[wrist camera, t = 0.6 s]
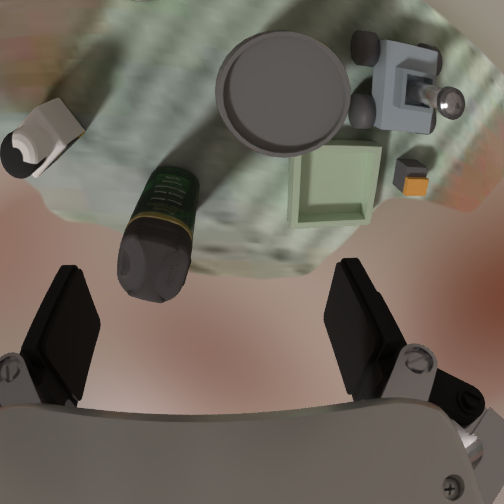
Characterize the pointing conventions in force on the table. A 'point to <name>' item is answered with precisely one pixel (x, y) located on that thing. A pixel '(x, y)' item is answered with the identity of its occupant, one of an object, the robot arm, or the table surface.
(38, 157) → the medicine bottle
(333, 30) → the table surface
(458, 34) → the table surface
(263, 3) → the table surface
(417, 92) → the pin
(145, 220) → the coffee jar
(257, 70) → the reusable coffee cup
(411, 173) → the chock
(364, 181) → the tray
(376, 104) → the toy car
